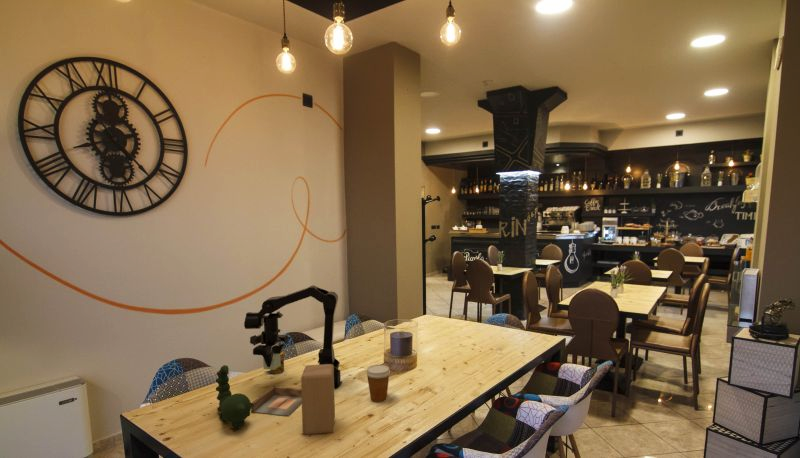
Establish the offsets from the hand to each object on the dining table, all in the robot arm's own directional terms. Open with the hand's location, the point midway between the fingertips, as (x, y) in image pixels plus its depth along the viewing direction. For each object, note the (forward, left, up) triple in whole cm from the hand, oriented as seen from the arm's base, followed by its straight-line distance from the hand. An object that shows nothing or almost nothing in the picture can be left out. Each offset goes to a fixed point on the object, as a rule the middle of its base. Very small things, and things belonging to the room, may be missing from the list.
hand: (272, 364), depth 168 cm
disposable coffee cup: (-47, +1, -10) cm, 48 cm away
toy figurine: (-1, +27, -10) cm, 29 cm away
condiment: (+8, -15, -10) cm, 20 cm away
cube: (0, 0, -1) cm, 1 cm away
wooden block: (-33, +25, -10) cm, 43 cm away
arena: (-12, +14, -10) cm, 21 cm away
